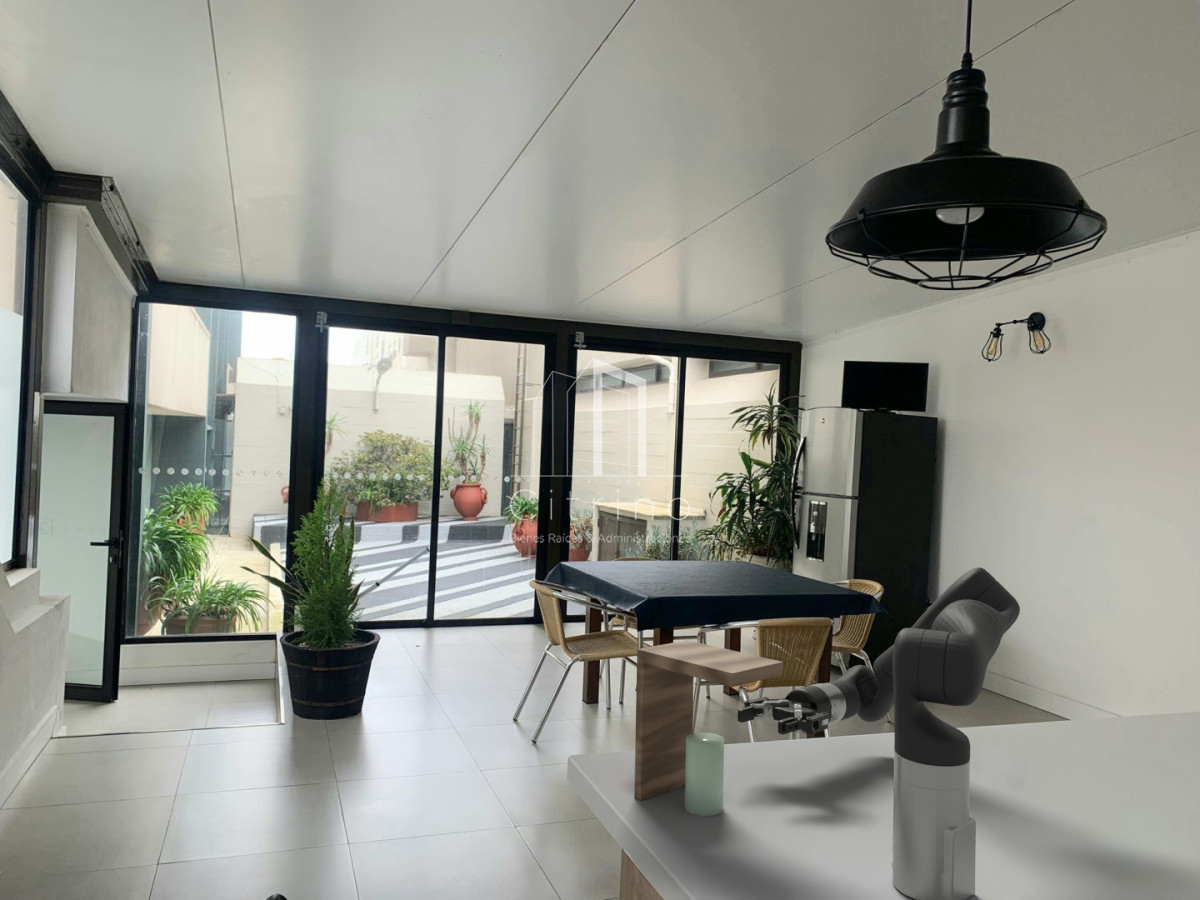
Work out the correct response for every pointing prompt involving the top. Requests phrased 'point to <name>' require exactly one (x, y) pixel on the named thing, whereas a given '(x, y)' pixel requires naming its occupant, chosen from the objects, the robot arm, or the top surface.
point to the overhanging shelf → (680, 704)
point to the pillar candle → (704, 774)
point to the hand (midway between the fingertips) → (759, 722)
